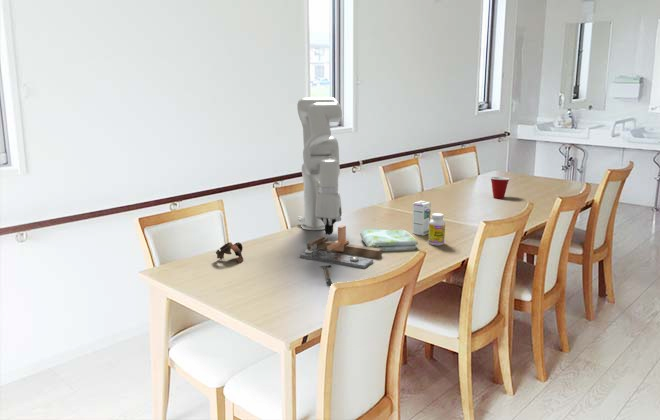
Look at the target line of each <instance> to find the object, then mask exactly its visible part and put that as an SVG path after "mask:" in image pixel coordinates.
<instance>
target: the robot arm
mask: <svg viewBox="0 0 660 420" xmlns="http://www.w3.org/2000/svg"><path fill="white" fill-rule="evenodd" d="M296 105H297V106H296V107H297V108H296V109H297V114H298V117H299V120H300V123H301V125H302V133H303V134H302V136H303V151H302V159H303V164H301V175H302V181H303V211H304V213H303V216H300V215H299V216H298V217H297V222H301V224H300V227H302V228H301V229H302V230H303V229H304V230H307V231H322V230H324V231H325V235H328V236H330V235H332V234H333V233H334V224H335V223H337V222H341V221H342V212H343V211H342V198H341V195H340V193H339V178H340V171H341V169H340V168H341V167H340V147H339V141H338V139H337V138H336V137H335V136H333V135H332V132H331V126H330V123H339V122H340V121H342V118H343V116H342V115H343V111H342V106H341V105H340V103H339V101H338V100H337V99H336V98H335V97H333V96H332V97H331V96H328V97H327V96H324V97H322V96H321V97H320V96H317V97H315V96H314V97H313V96H309V97H308V96H307V97H303V98H300V99H299V100H298V101H297V104H296Z"/></svg>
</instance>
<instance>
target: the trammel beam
mask: <svg viewBox="0 0 660 420" xmlns="http://www.w3.org/2000/svg"><path fill="white" fill-rule="evenodd" d="M334 242H335V241H332V240H329V238H328V237H325V236H318V237H317V238H314V239H312V240H311V241H309V242H307V243H306V249H307V250H311V249H312V247H315V246H316V249H317V250H322V251H323V250H324V251H327V246H328V245H330V244H332V243H334ZM331 252H335V253H341V254H342V253H344V254H347V255H348V254H351V255H354V256H360V257H361V256H362V257H368V258H372V259H373V258H374V259H380V258H381V257H382V256H383V255H382V252H383V251H382V249H379V248H372V247H367V246H365V245H364V246H363V245H359V244H351V243H349V244H345V245H344V251H336V250H334V249H333V250H331Z"/></svg>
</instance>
